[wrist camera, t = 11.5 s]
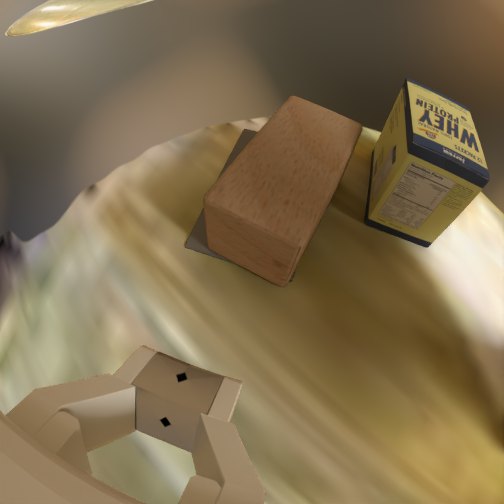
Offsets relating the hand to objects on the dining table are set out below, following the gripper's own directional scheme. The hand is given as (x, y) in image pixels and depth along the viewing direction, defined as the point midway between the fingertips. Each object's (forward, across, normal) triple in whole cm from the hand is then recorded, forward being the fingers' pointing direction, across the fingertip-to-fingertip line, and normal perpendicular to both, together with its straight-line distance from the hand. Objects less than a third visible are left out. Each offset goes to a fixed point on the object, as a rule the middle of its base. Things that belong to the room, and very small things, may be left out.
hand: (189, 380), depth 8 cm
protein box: (+41, -15, -6) cm, 44 cm away
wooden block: (+23, +2, +3) cm, 23 cm away
